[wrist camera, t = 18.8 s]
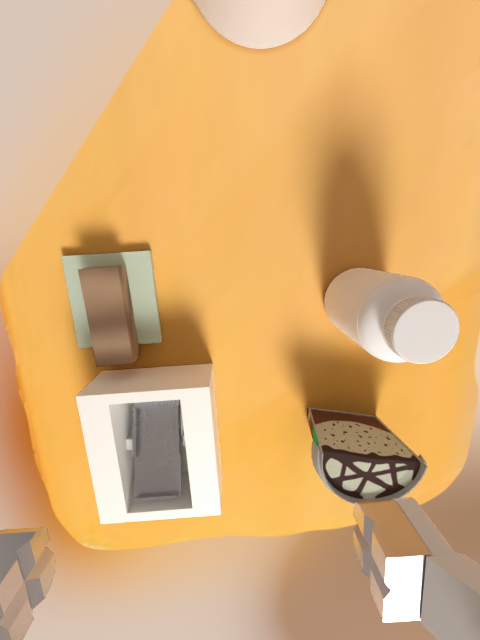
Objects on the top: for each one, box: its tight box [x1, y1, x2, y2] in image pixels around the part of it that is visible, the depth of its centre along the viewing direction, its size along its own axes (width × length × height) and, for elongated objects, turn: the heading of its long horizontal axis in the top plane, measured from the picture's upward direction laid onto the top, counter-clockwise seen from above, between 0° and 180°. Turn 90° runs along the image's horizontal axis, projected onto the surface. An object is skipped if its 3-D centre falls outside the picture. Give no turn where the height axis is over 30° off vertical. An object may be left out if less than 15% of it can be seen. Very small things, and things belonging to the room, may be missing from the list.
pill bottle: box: [324, 268, 459, 364], centre depth 32 cm, size 8×8×15 cm
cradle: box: [132, 400, 182, 501], centre depth 38 cm, size 12×5×2 cm, turn 4°
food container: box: [307, 407, 427, 504], centre depth 38 cm, size 12×6×10 cm, turn 81°
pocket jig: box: [76, 363, 222, 524], centre depth 39 cm, size 16×14×7 cm
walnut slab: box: [78, 265, 140, 366], centre depth 36 cm, size 11×4×3 cm, turn 5°
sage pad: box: [61, 251, 162, 348], centre depth 38 cm, size 11×10×1 cm
